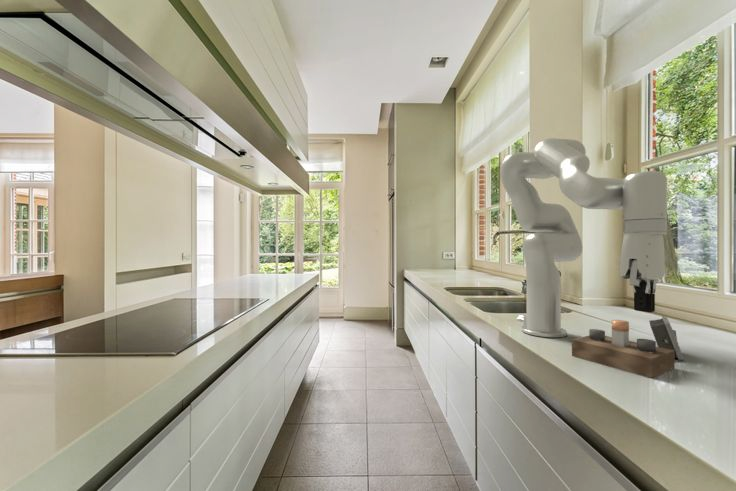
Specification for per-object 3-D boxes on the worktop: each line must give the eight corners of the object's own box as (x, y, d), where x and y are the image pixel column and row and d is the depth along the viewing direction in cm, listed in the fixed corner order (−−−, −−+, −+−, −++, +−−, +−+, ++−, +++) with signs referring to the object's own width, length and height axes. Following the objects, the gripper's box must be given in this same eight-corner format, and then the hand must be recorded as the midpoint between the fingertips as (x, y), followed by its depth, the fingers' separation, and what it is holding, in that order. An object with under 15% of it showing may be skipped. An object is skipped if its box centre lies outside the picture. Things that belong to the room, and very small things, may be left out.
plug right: (634, 365, 74) (634, 339, 74) (641, 363, 75) (640, 337, 75) (651, 370, 71) (651, 343, 71) (658, 367, 73) (658, 341, 73)
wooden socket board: (571, 355, 82) (571, 339, 82) (596, 348, 87) (596, 333, 87) (651, 378, 68) (651, 358, 68) (674, 368, 73) (674, 350, 73)
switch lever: (586, 353, 83) (586, 330, 83) (593, 351, 84) (593, 328, 84) (600, 357, 80) (600, 333, 80) (607, 354, 81) (607, 331, 81)
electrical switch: (684, 362, 77) (678, 322, 78) (655, 359, 81) (649, 321, 81) (679, 352, 85) (674, 315, 85) (653, 350, 88) (648, 315, 89)
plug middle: (609, 345, 78) (608, 320, 78) (616, 343, 80) (615, 319, 80) (624, 348, 75) (624, 323, 75) (631, 346, 77) (631, 321, 77)
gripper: (639, 229, 80) (640, 305, 80) (607, 228, 73) (607, 311, 73) (680, 228, 74) (680, 310, 74) (649, 226, 67) (649, 318, 67)
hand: (644, 310), depth 74 cm, fingers closed
